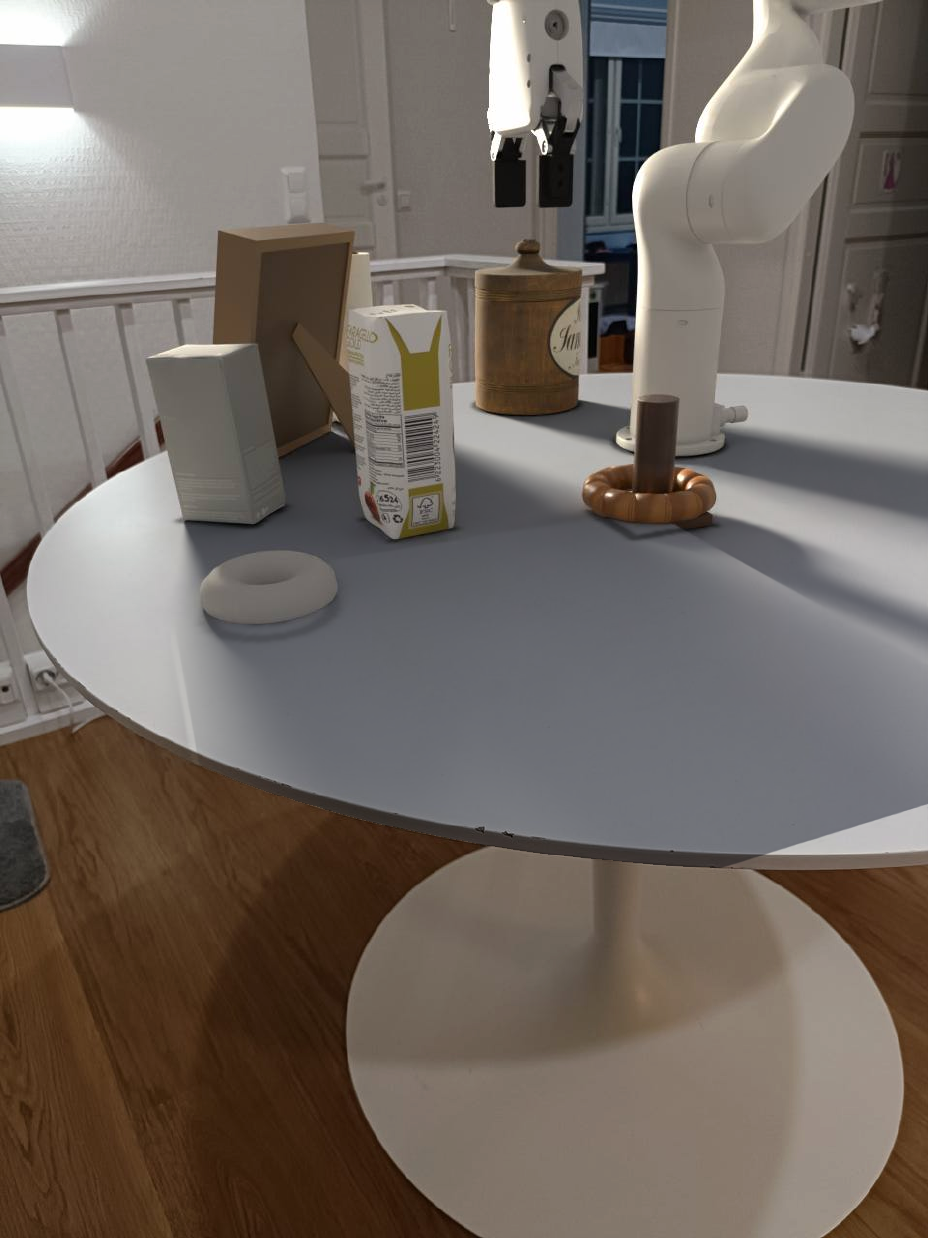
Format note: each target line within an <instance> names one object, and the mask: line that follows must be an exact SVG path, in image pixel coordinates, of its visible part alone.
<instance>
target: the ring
mask: <svg viewBox="0 0 928 1238" xmlns="http://www.w3.org/2000/svg"><path fill="white" fill-rule="evenodd" d="M633 470H634V463H629V464H620V465H614V466H608V467H605V468H603V469H600V470H598V471H596V472H593V473H591V474H590V475H588V476H587V477H586V478H585V479H584V481H583V485H582V492H581V498H582V502H583V504H584V505H585V506H586V507H587V508H589V509H590V510H591V511H592V510H594V511H595V512H597V513H599V514H600V515H602V516H604V517H605V518H610V519H614V520H619V521H623V522H627V523H628V522H629V523H641V524H672V523H674V522H680V521H686V520H692V519H695V518H697V517H698V516H700V515H702V514H703V513H705V512H709V511H710V510H711V509H712V508H714V506H715V504H716V502H717V492H716V489H715V485H714V483H713V481H712V479H711V478H709V477H708V476H707V475H704V474H702V473H700V472H697V471H695V470H693V469H691V468H687V467H681V466H675V465H674V478H673V491H672V493H666V494H644V493H633V492H632V487H633ZM604 517H603V518H604Z"/></svg>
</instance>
